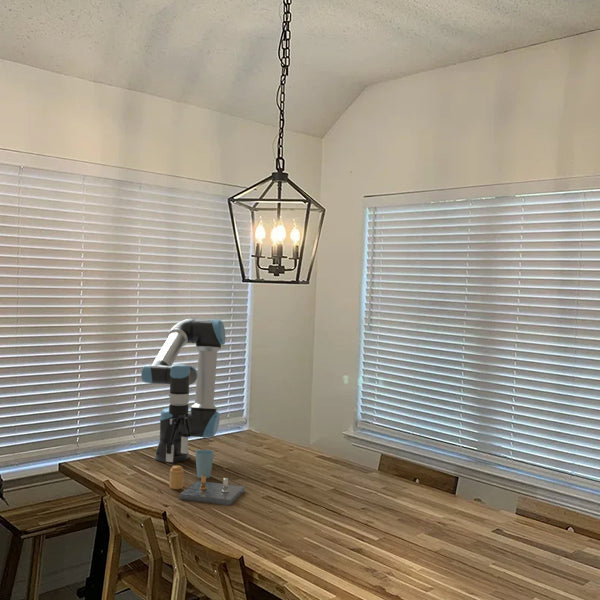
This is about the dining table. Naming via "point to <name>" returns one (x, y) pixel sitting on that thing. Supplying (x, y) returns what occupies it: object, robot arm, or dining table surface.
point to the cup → (204, 462)
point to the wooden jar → (176, 477)
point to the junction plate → (212, 492)
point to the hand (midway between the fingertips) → (177, 457)
